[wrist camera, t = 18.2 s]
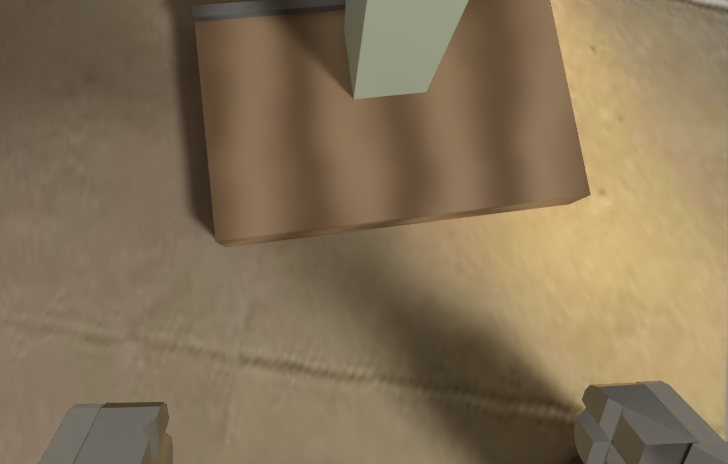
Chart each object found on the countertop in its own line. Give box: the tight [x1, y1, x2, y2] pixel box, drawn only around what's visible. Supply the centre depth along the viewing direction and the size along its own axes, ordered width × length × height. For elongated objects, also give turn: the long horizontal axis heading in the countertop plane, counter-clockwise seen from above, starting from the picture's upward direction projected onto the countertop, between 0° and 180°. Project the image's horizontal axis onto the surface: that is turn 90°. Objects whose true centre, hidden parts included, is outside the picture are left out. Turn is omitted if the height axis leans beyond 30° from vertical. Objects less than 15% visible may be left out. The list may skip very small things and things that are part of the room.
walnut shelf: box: [191, 0, 590, 247], centre depth 35 cm, size 25×16×4 cm, turn 98°
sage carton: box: [344, 0, 469, 99], centre depth 28 cm, size 5×5×13 cm
